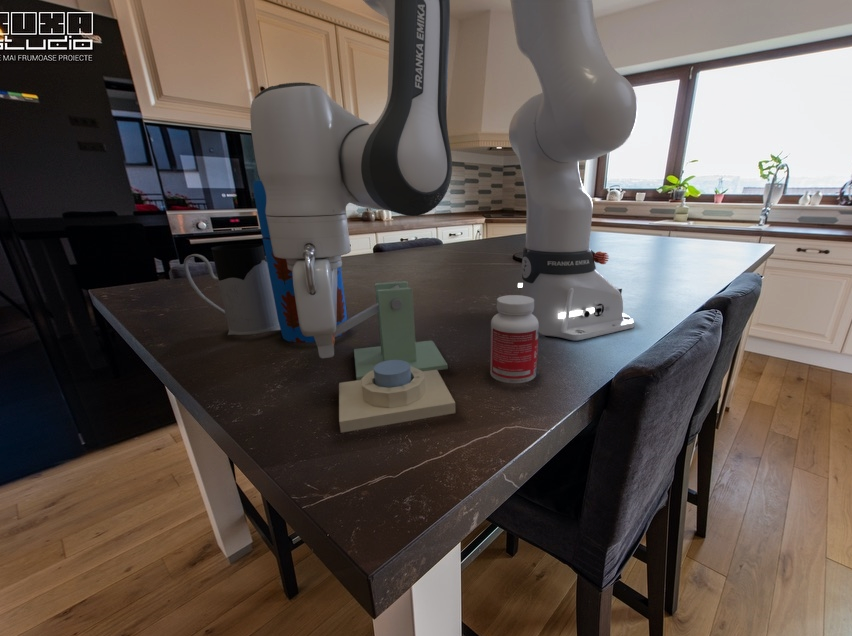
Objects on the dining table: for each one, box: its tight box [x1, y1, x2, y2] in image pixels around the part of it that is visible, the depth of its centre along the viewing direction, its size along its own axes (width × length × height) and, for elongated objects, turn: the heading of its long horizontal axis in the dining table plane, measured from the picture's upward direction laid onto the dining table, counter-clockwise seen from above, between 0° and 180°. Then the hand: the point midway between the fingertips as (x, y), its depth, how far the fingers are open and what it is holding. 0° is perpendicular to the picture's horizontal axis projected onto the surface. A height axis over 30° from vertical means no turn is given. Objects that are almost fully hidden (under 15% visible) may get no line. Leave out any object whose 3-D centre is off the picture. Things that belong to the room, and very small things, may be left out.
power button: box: [374, 360, 411, 388], centre depth 44 cm, size 4×4×2 cm
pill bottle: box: [489, 294, 539, 384], centre depth 51 cm, size 6×6×11 cm
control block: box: [338, 366, 456, 434], centre depth 45 cm, size 12×9×4 cm
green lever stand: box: [353, 280, 449, 381], centre depth 55 cm, size 12×10×12 cm
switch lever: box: [332, 285, 399, 346], centre depth 53 cm, size 12×6×2 cm, turn 108°
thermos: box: [252, 180, 348, 344], centre depth 64 cm, size 11×11×25 cm
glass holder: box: [183, 243, 281, 336], centre depth 68 cm, size 9×14×15 cm, turn 89°
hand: (327, 345), depth 53 cm, fingers closed on switch lever, 6 cm apart
